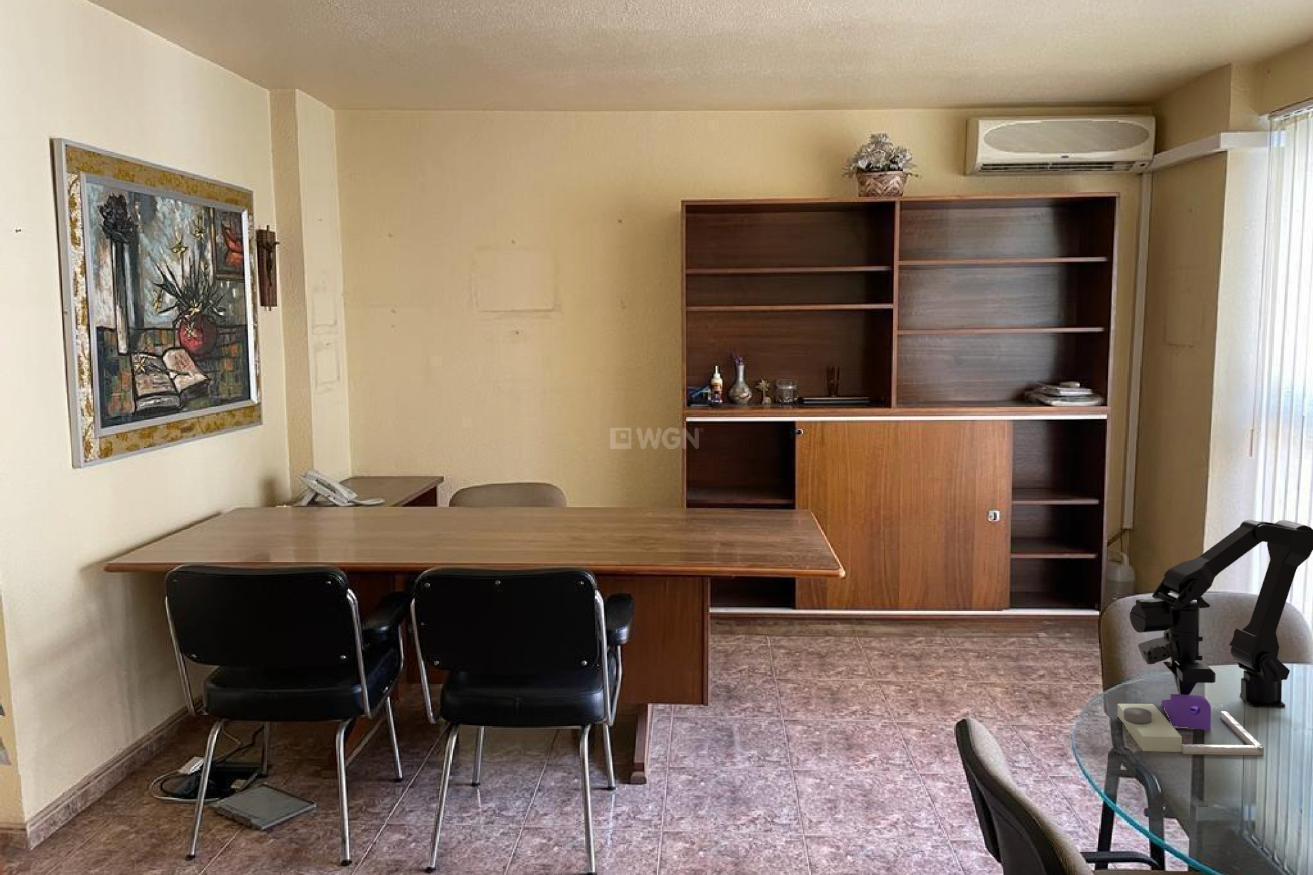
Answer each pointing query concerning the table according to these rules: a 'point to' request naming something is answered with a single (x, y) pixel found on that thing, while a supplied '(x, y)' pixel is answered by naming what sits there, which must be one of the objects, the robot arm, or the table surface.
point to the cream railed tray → (1162, 736)
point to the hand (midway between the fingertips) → (1183, 699)
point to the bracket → (1188, 711)
